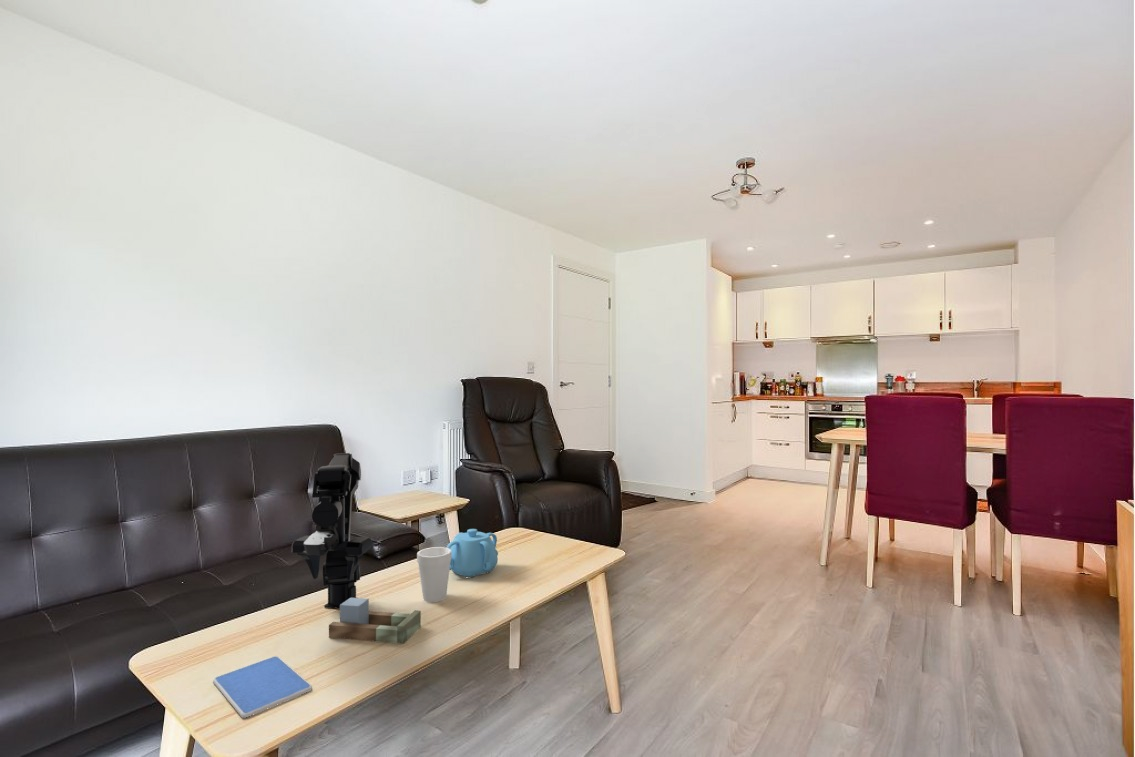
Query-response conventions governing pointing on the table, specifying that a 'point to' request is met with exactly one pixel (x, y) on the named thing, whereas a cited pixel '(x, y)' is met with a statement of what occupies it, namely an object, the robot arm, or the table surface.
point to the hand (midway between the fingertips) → (332, 579)
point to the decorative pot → (473, 553)
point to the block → (355, 611)
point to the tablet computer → (261, 686)
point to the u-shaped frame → (379, 627)
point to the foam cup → (434, 572)
